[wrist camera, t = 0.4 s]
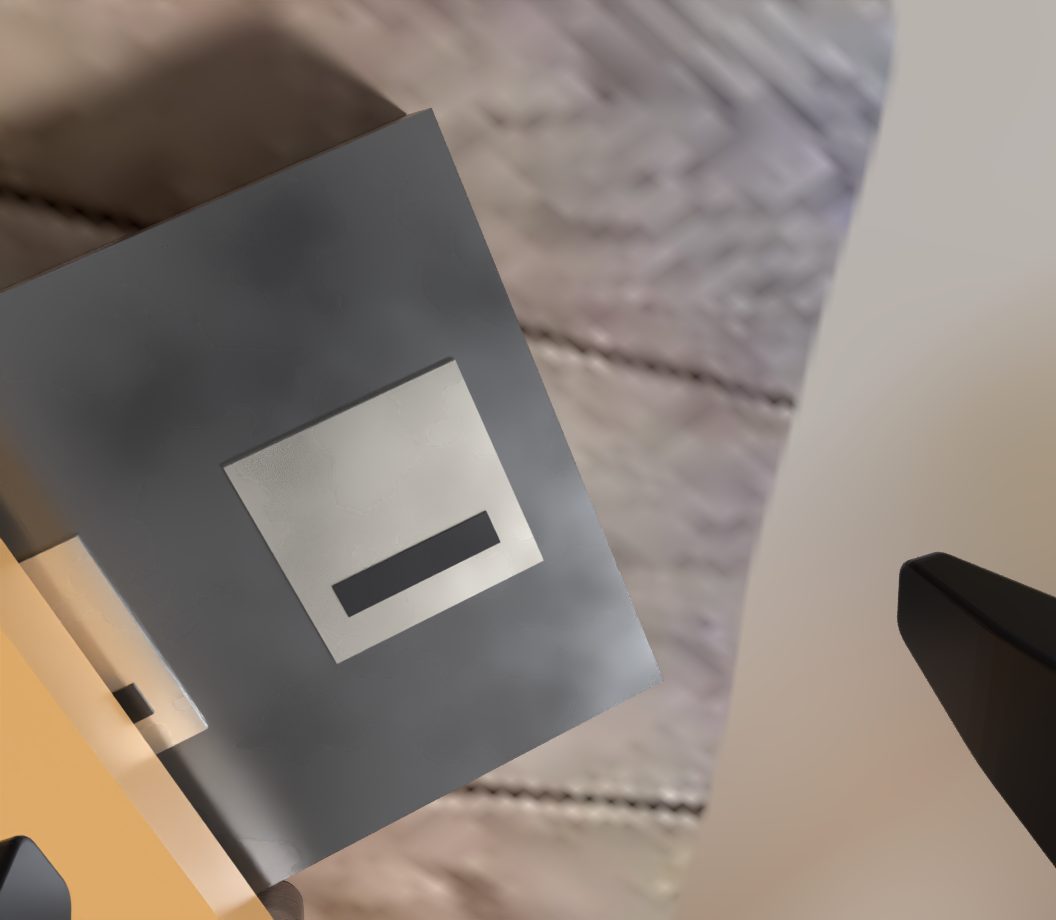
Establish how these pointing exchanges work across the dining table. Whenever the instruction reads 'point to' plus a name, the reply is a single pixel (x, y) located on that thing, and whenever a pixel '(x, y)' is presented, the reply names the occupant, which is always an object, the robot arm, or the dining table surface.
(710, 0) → the dining table surface
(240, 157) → the dining table surface
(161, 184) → the dining table surface
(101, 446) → the power supply unit
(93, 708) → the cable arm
